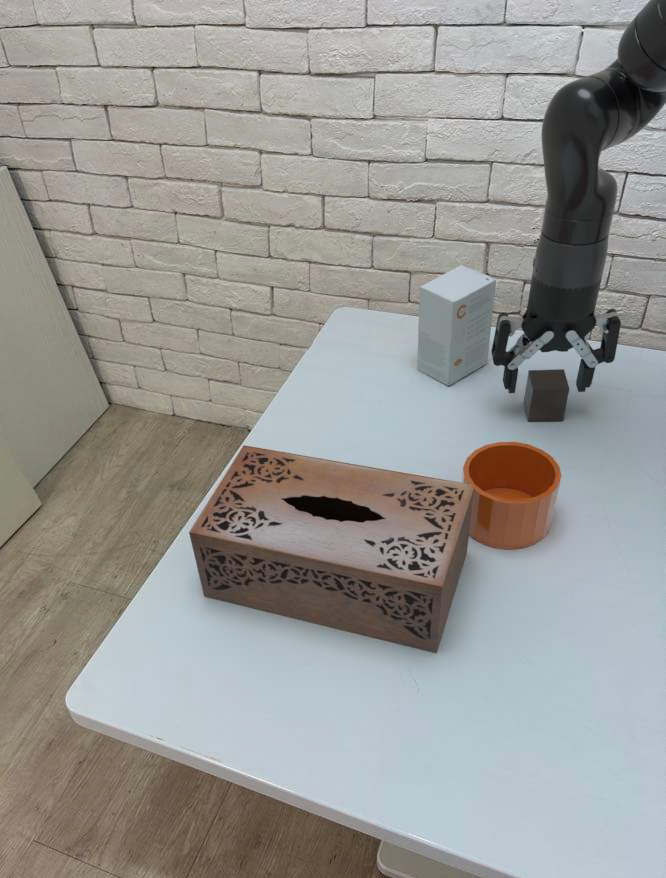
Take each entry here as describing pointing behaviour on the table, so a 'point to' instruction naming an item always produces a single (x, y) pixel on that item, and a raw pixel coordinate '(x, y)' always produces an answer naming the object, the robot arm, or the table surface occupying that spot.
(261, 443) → the table surface
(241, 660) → the table surface
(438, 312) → the small box
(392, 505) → the tissue box cover
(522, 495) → the round open container
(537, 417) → the walnut block
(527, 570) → the table surface
